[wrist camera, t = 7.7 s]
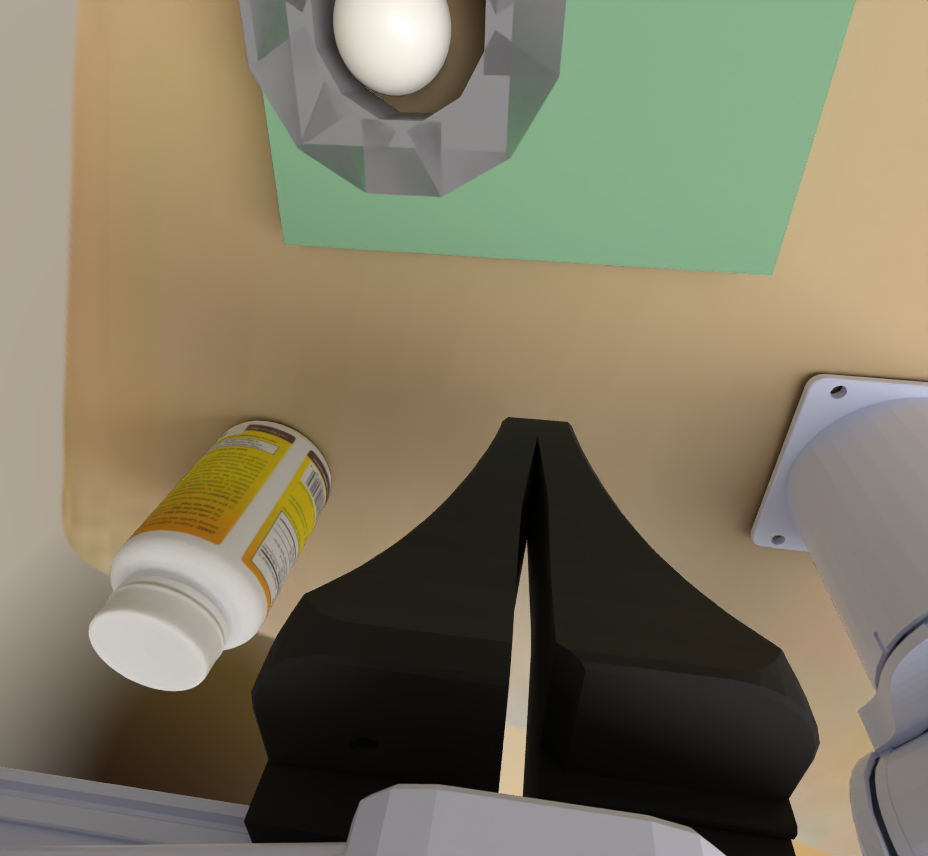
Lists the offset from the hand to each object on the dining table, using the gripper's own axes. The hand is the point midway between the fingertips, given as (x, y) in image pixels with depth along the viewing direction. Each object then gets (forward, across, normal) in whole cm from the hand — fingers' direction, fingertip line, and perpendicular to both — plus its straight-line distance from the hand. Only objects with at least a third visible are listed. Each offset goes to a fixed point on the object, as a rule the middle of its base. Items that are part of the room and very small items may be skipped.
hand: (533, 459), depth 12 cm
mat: (+10, +1, -8) cm, 13 cm away
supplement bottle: (+11, +11, +9) cm, 18 cm away
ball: (+9, +5, -8) cm, 13 cm away
